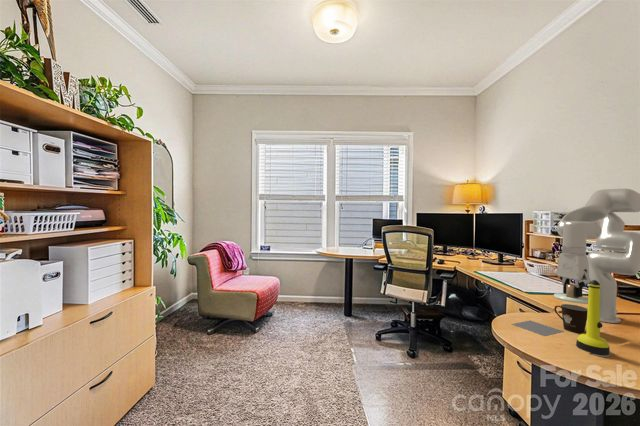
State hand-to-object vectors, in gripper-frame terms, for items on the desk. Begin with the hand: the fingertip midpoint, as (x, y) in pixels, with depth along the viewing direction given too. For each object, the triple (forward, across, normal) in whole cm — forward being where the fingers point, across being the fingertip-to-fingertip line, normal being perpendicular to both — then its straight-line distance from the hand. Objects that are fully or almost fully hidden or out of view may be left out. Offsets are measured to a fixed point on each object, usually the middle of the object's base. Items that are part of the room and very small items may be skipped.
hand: (572, 294), depth 124 cm
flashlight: (+15, +17, -10) cm, 25 cm away
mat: (+15, -2, -14) cm, 20 cm away
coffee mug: (+15, 0, 0) cm, 15 cm away
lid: (+2, 0, 0) cm, 2 cm away
